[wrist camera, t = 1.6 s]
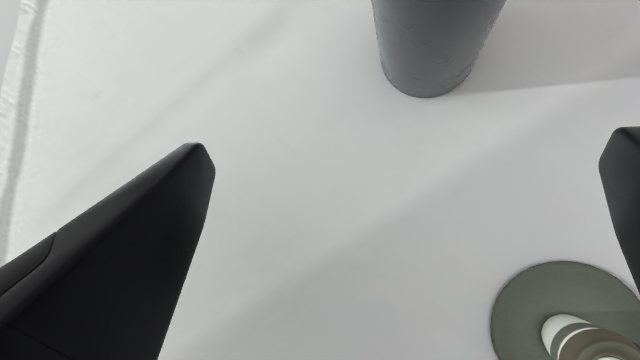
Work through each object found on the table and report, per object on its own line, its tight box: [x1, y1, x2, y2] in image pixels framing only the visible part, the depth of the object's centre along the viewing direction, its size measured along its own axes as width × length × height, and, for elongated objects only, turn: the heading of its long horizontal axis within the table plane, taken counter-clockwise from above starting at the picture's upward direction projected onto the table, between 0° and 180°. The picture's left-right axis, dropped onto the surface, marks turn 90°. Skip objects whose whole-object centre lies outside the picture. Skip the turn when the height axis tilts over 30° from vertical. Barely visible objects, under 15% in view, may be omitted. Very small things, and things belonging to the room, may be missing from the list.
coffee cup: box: [491, 262, 640, 360], centre depth 17 cm, size 12×12×5 cm
